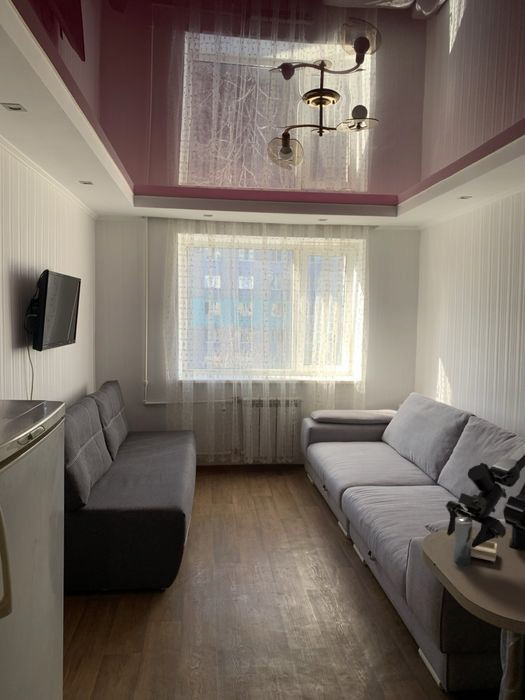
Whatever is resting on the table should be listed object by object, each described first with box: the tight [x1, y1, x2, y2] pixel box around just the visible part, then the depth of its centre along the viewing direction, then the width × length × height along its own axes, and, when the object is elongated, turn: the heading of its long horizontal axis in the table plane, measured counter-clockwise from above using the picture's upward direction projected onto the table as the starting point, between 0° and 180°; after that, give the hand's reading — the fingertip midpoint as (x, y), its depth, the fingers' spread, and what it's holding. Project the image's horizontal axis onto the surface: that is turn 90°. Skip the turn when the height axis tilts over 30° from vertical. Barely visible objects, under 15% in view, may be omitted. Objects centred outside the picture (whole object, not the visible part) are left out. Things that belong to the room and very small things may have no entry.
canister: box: [453, 517, 473, 566], centre depth 158 cm, size 5×5×13 cm
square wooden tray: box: [471, 537, 498, 564], centre depth 163 cm, size 8×8×4 cm
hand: (459, 540), depth 158 cm, fingers open, 9 cm apart
